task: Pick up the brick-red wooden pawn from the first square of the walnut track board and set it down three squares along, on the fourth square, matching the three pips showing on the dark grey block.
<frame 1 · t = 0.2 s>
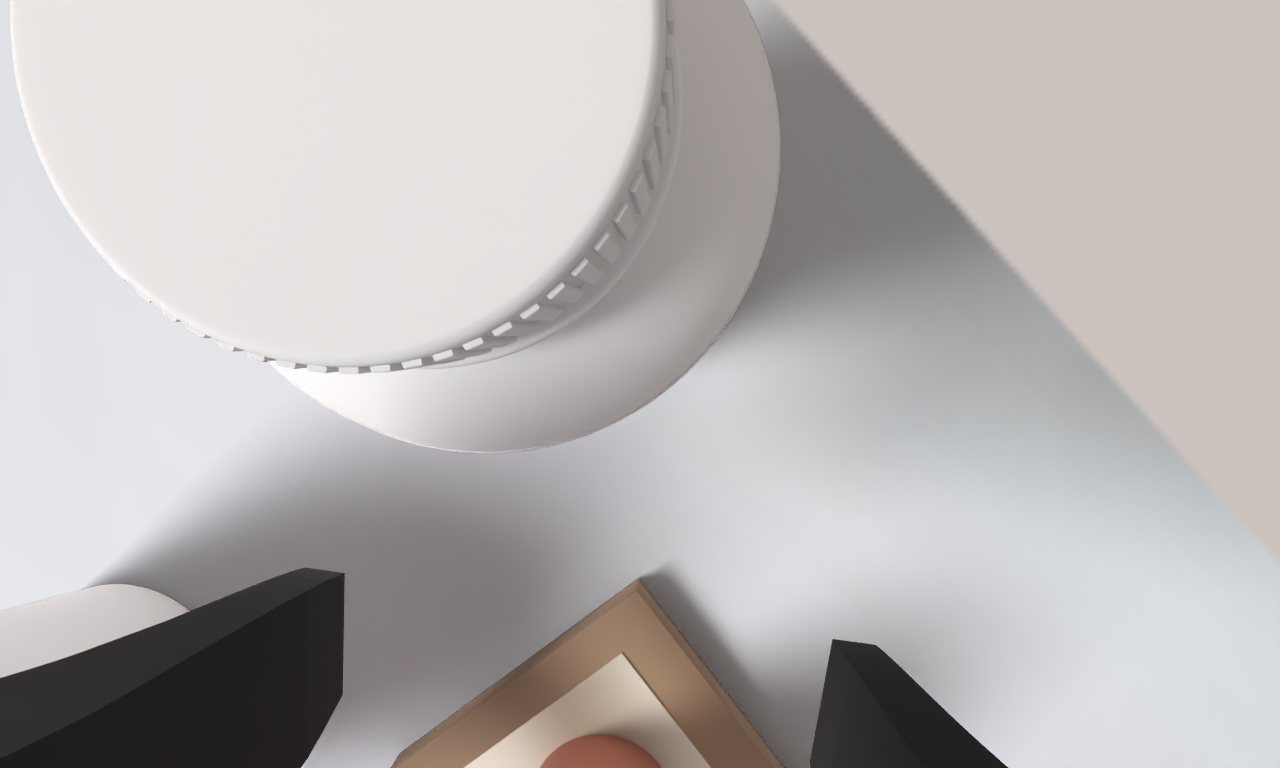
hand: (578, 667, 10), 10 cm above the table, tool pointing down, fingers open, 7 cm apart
cup: (133, 685, 22), on the table
pill bottle: (582, 249, 21), on the table
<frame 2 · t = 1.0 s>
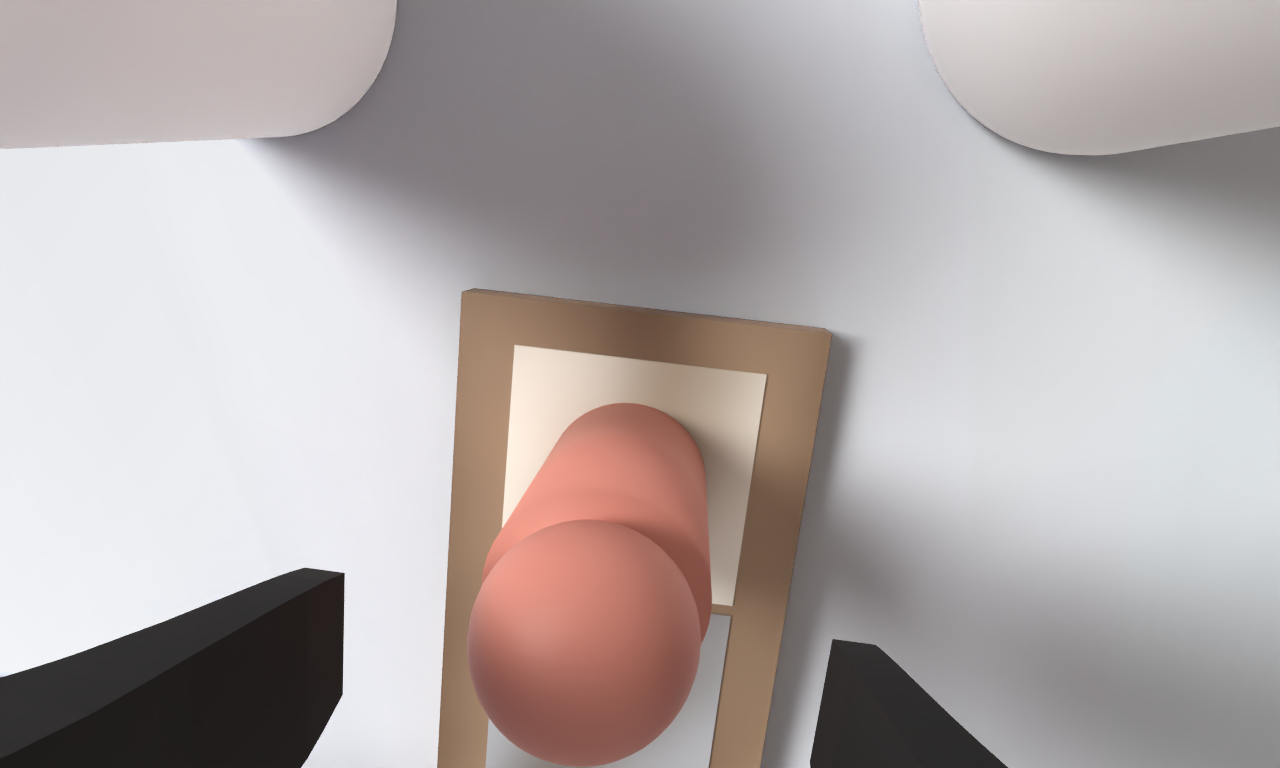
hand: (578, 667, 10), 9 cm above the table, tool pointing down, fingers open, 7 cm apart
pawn: (626, 479, 18), point 1 cm above the table, touching board
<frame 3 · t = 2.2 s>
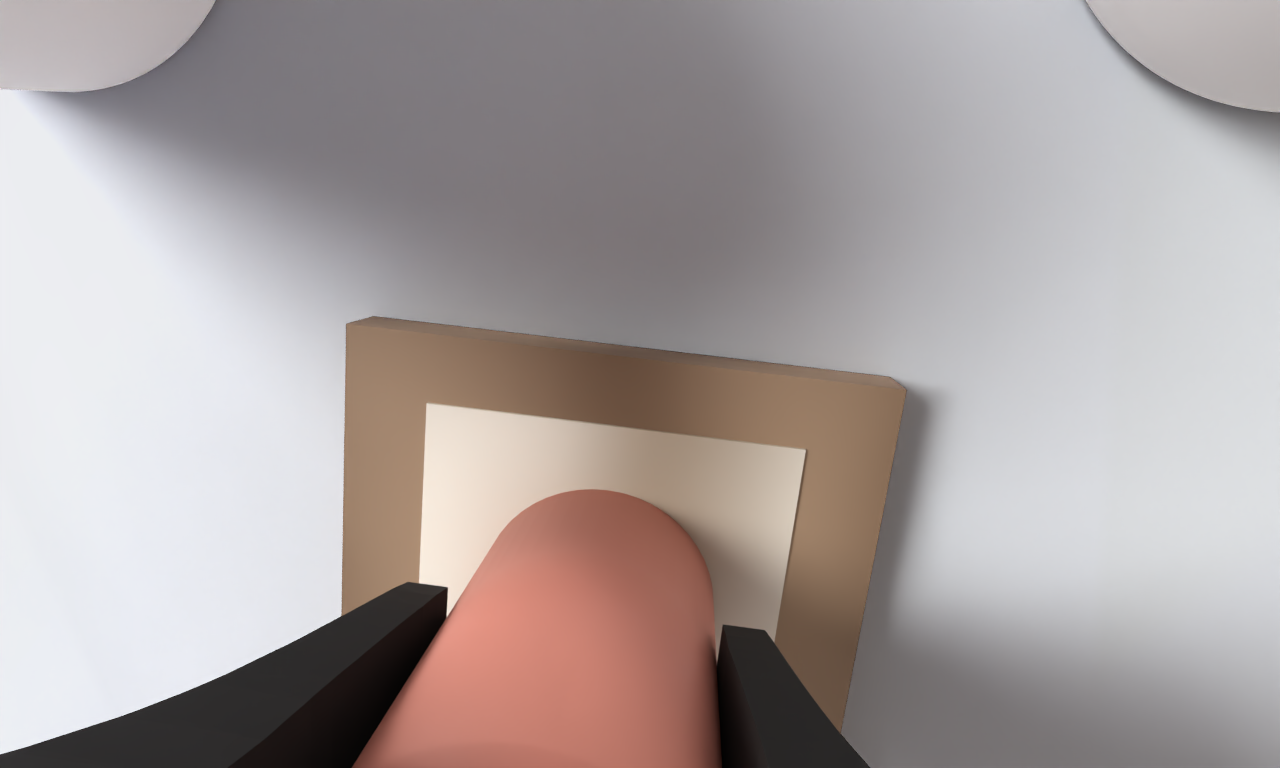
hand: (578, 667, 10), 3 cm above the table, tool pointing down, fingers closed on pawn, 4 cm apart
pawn: (596, 599, 12), point 1 cm above the table, touching board, gripper
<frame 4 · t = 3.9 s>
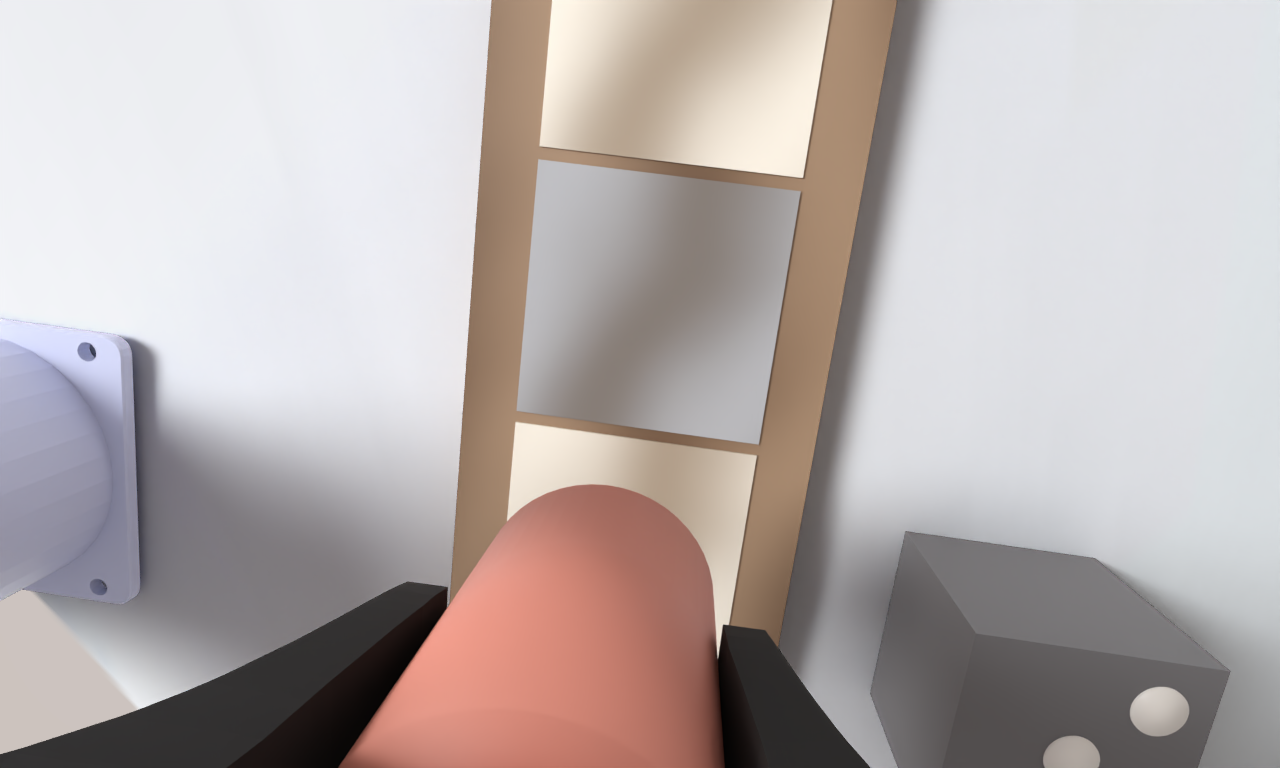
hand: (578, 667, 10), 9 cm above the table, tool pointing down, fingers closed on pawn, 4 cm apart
dark grey block: (978, 628, 20), on the table
board: (639, 422, 19), on the table
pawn: (596, 595, 12), point 7 cm above the table, touching gripper
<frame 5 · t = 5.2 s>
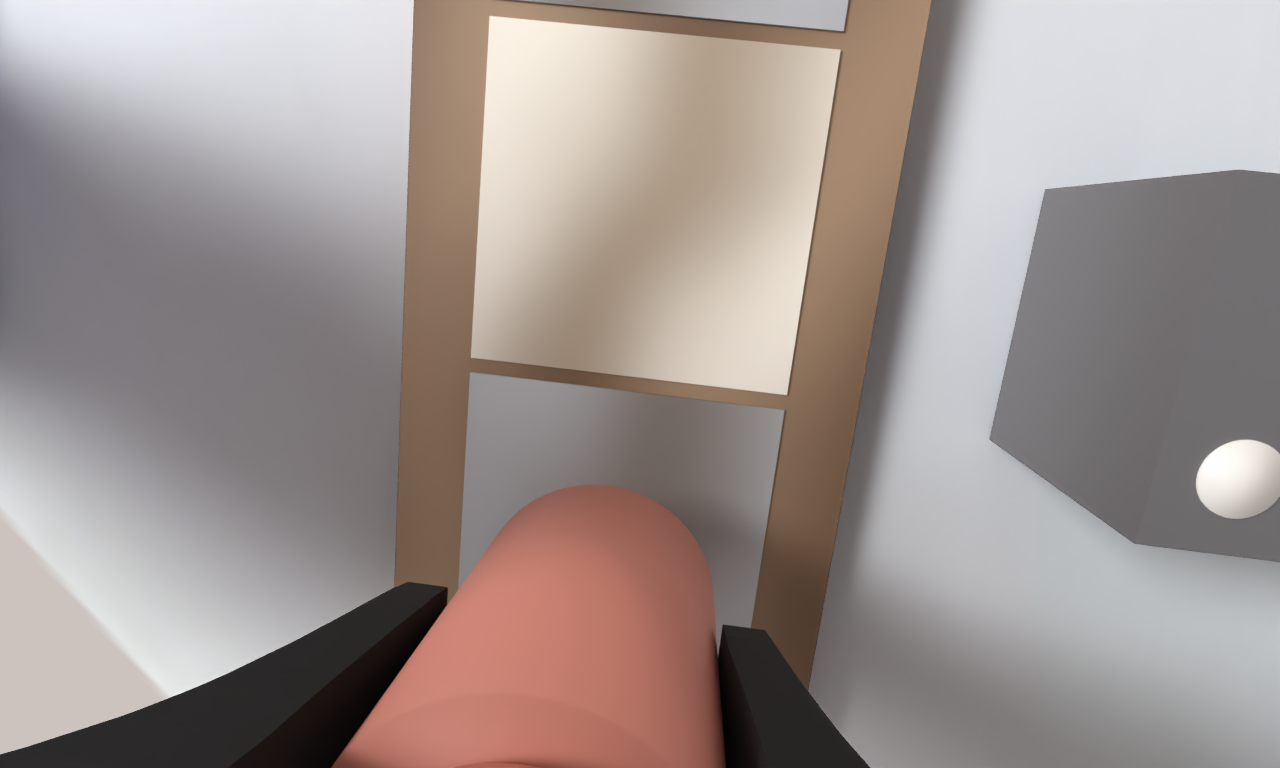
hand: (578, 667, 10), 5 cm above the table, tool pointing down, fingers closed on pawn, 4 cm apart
dark grey block: (1145, 333, 14), on the table
board: (666, 38, 14), on the table
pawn: (596, 596, 12), point 4 cm above the table, touching gripper
when the fingers open (4 cm above the table, at t = 5.9 s): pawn stays where it is, resting on board.
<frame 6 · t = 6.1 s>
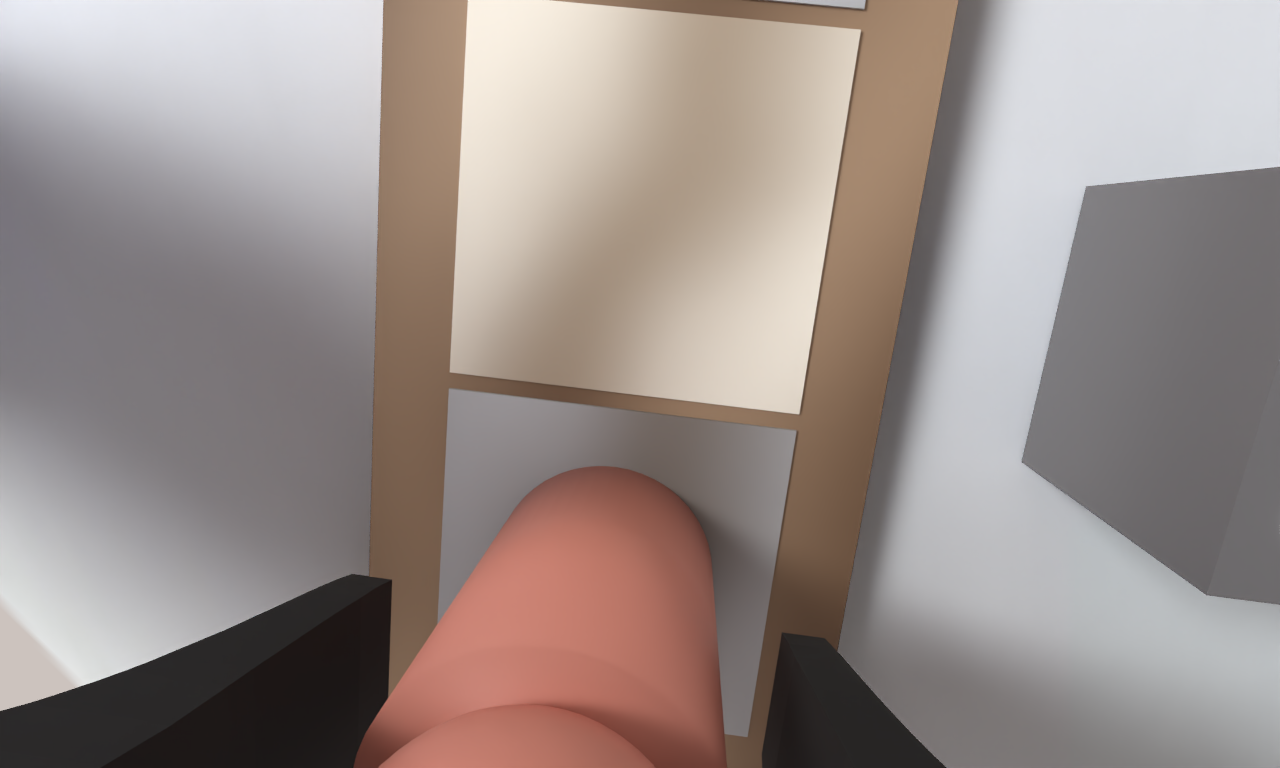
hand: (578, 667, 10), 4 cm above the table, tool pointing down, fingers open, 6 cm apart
dark grey block: (1195, 346, 13), on the table
board: (665, 19, 12), on the table
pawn: (603, 569, 13), point 1 cm above the table, touching board
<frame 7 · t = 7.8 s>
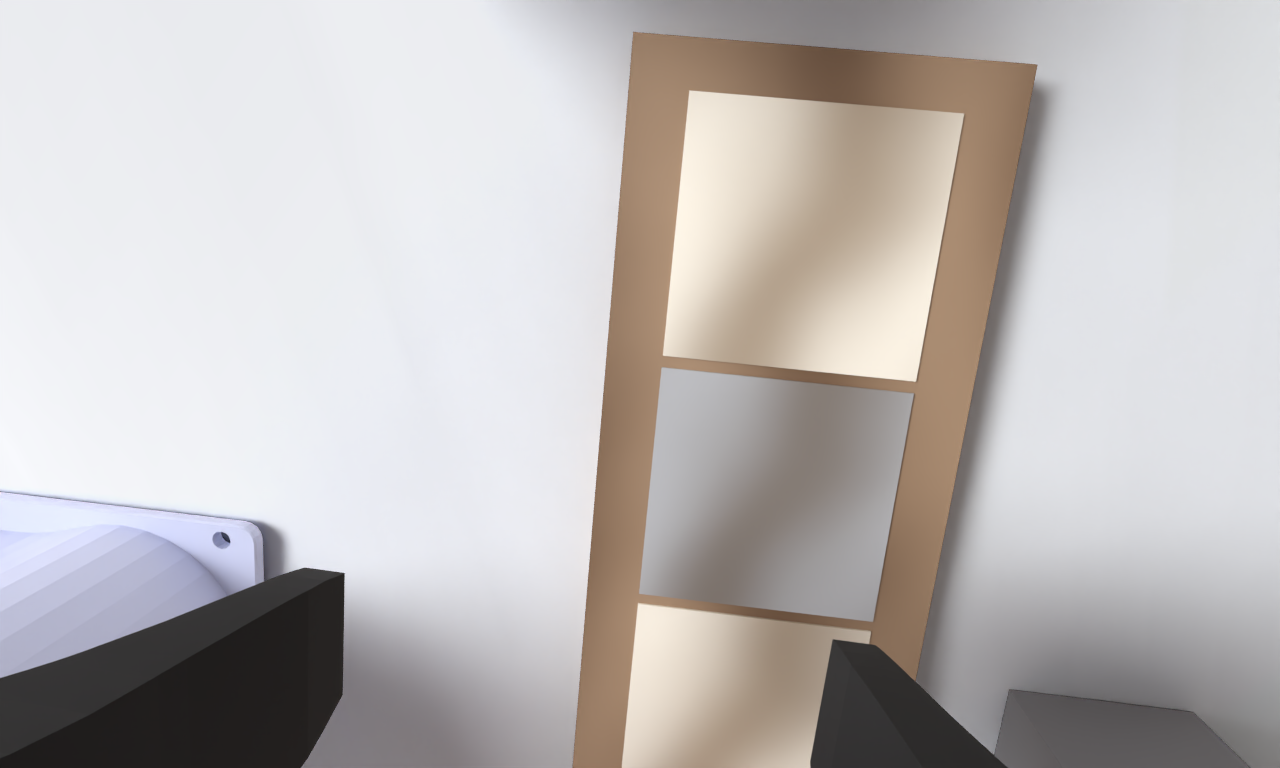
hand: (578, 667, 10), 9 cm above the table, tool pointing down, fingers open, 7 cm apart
board: (751, 593, 20), on the table
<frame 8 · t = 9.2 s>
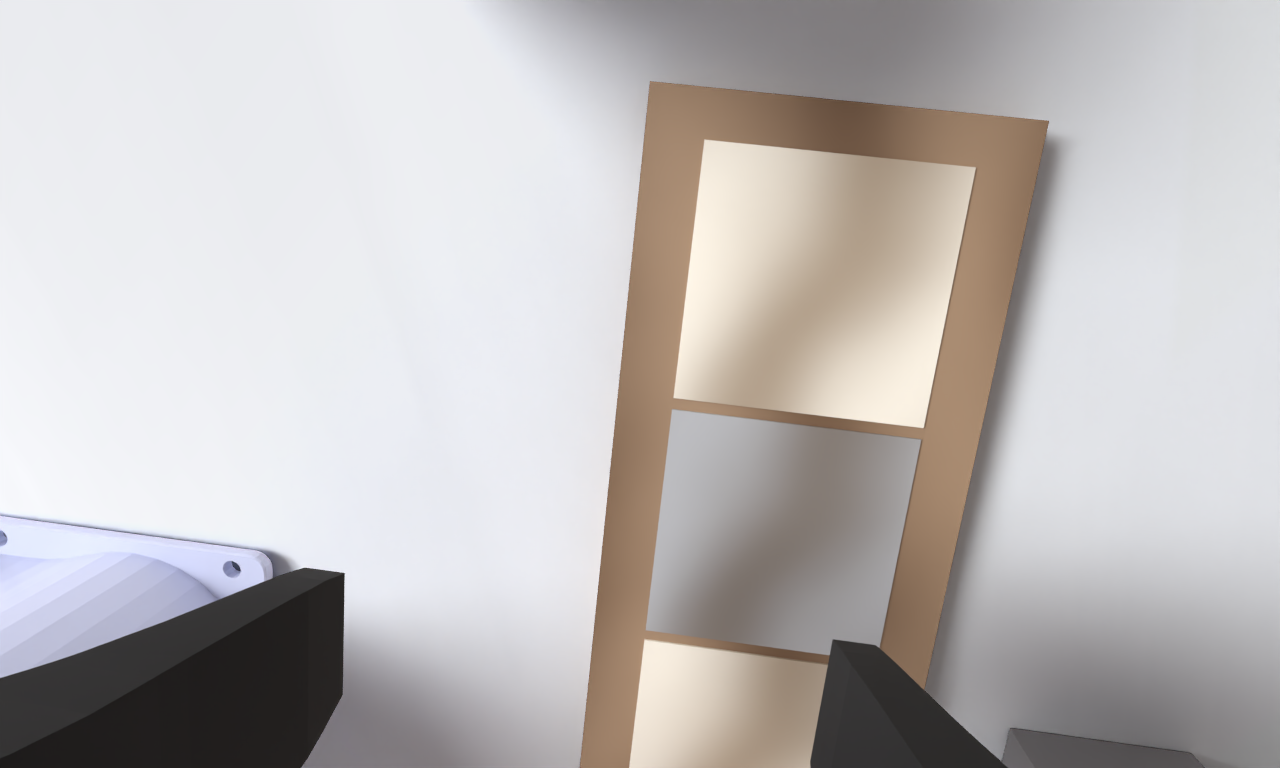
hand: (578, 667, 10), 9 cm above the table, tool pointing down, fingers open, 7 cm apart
board: (756, 629, 20), on the table
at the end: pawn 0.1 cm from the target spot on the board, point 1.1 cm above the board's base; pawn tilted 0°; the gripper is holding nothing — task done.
